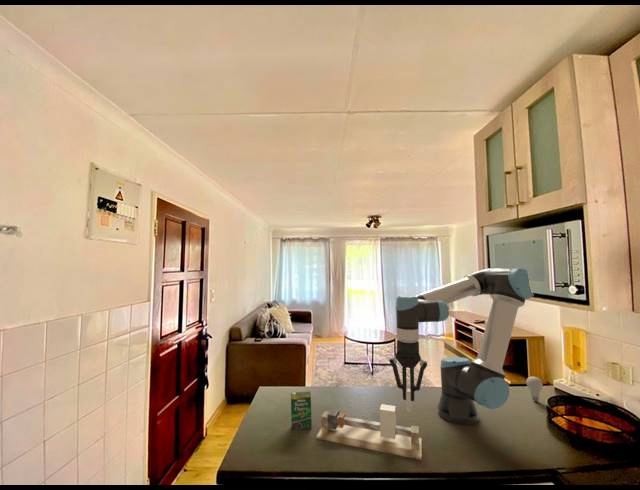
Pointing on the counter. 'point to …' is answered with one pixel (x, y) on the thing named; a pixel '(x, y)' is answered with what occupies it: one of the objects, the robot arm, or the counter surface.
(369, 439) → the stand
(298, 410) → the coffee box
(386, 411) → the sleeve
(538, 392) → the lightbulb
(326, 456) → the counter surface
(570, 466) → the counter surface
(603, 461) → the counter surface
